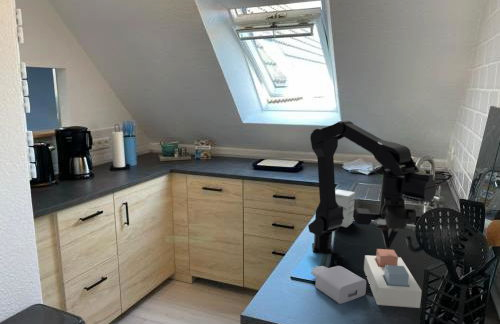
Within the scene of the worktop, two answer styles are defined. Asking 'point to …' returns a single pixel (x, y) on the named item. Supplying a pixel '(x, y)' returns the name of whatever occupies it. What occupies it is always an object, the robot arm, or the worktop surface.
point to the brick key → (386, 257)
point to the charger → (339, 283)
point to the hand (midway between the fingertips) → (387, 247)
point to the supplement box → (346, 205)
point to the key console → (391, 293)
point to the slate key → (396, 276)
